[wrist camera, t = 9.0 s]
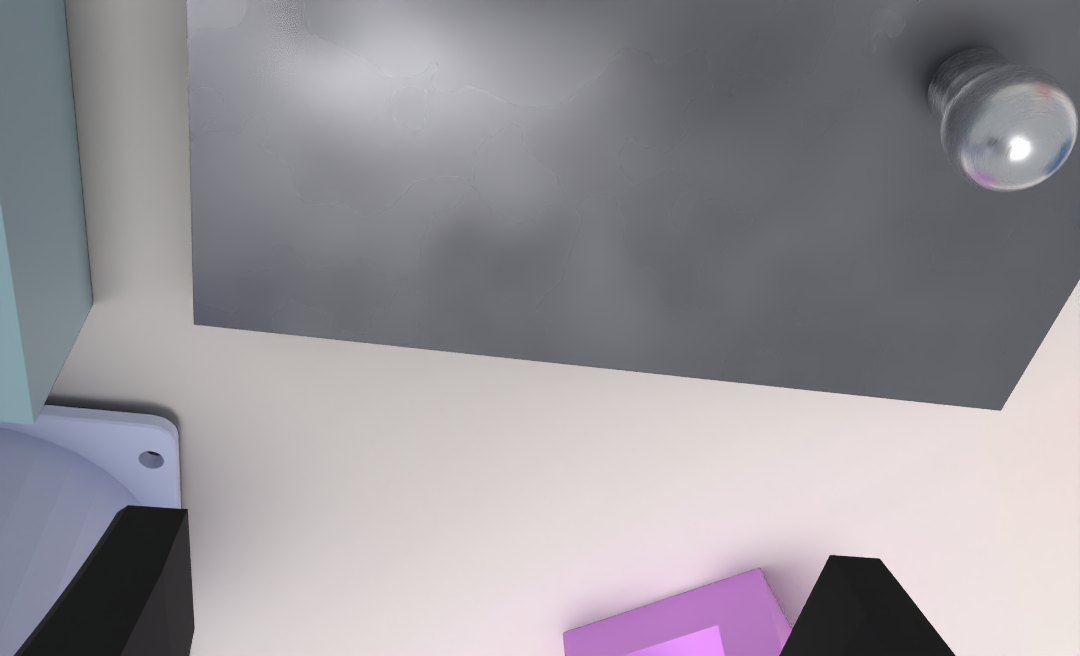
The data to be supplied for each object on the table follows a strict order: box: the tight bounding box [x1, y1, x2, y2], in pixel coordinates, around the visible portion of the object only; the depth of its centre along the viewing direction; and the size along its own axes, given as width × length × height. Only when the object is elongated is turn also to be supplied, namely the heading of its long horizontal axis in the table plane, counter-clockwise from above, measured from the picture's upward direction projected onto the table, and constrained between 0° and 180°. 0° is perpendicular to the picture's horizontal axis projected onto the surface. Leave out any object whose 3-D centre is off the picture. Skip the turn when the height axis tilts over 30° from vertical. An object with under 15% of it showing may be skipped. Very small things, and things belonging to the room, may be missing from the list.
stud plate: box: [186, 0, 1080, 411], centre depth 16 cm, size 14×17×3 cm
